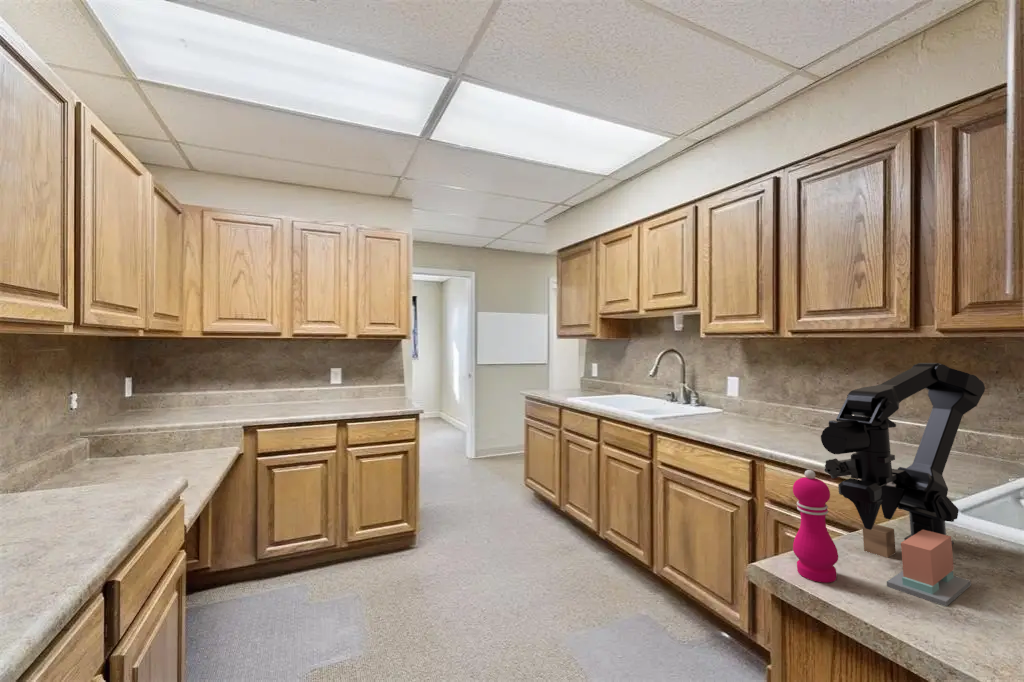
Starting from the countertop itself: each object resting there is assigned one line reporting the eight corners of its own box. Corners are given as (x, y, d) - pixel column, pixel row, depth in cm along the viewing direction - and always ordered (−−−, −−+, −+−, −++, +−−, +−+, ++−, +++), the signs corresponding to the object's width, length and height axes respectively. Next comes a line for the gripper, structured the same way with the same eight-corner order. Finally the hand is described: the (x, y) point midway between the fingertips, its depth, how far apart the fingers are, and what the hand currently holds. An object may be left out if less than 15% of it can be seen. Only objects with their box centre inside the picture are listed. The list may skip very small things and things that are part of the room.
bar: (925, 561, 84) (922, 529, 85) (953, 569, 81) (951, 536, 81) (903, 576, 79) (900, 542, 80) (932, 586, 76) (930, 550, 76)
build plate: (913, 567, 86) (912, 557, 86) (971, 585, 79) (970, 573, 79) (886, 586, 80) (886, 574, 80) (946, 606, 73) (945, 594, 73)
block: (872, 546, 96) (871, 523, 96) (895, 552, 93) (894, 528, 93) (864, 551, 94) (862, 527, 94) (887, 558, 91) (885, 533, 91)
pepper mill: (796, 579, 84) (789, 473, 84) (792, 563, 90) (786, 464, 91) (843, 587, 80) (835, 476, 81) (836, 569, 87) (829, 466, 87)
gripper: (849, 438, 106) (854, 504, 105) (808, 450, 96) (813, 522, 96) (909, 445, 96) (914, 518, 96) (870, 459, 87) (876, 539, 86)
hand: (878, 523), depth 94 cm, fingers open, 9 cm apart
